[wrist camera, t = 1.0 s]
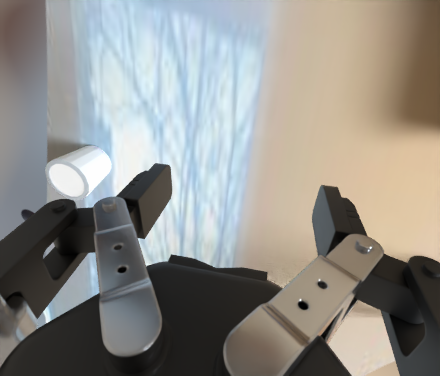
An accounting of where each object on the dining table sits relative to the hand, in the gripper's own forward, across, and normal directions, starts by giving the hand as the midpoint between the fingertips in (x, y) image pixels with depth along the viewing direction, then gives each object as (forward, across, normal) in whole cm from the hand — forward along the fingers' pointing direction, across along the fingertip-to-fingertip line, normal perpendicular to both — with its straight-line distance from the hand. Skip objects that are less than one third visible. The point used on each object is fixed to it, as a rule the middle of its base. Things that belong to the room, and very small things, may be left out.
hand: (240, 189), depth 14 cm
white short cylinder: (+22, +26, +12) cm, 37 cm away
